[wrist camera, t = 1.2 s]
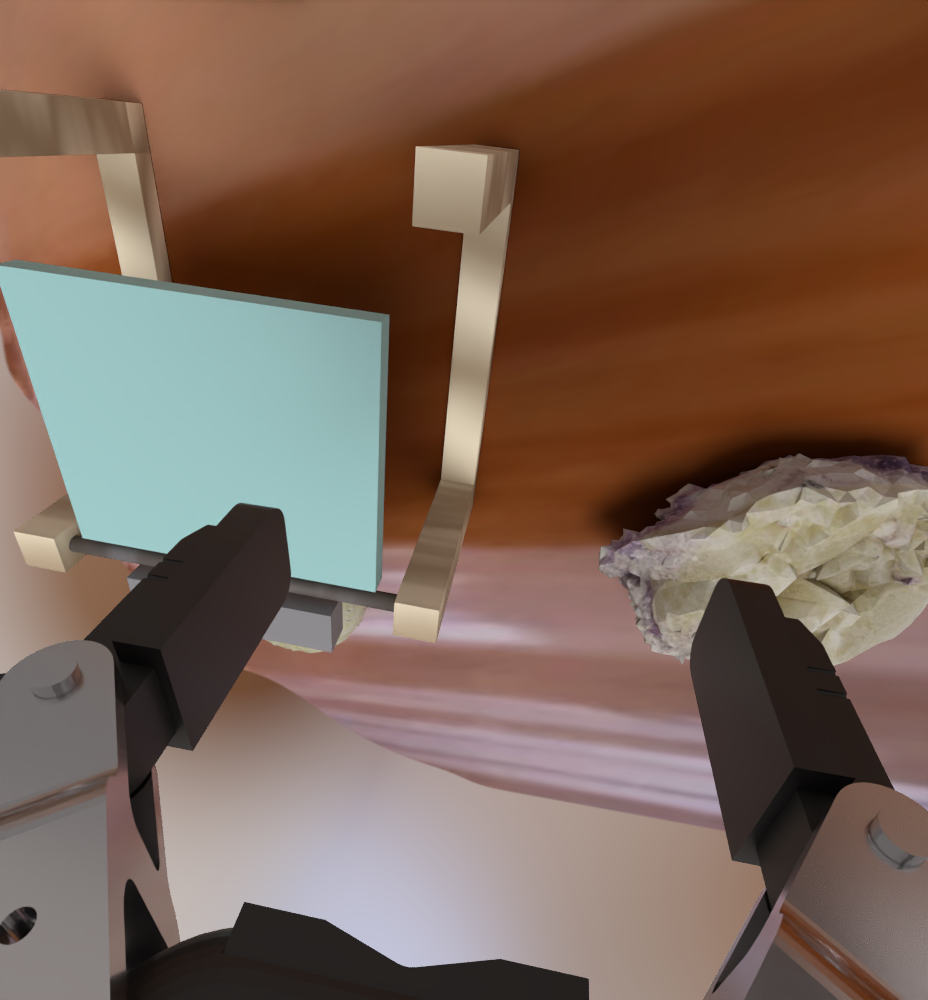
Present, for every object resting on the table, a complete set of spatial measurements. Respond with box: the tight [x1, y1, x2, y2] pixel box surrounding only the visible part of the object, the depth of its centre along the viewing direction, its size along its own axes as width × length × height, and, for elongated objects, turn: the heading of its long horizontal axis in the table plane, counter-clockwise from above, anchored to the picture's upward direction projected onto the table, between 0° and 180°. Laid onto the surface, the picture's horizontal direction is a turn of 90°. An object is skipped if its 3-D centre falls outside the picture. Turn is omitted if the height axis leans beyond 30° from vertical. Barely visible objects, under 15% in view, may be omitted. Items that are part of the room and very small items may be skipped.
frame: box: [0, 89, 520, 643], centre depth 26 cm, size 19×20×12 cm
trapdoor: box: [0, 260, 390, 652], centre depth 24 cm, size 16×14×2 cm
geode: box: [599, 454, 928, 666], centre depth 31 cm, size 17×9×15 cm
